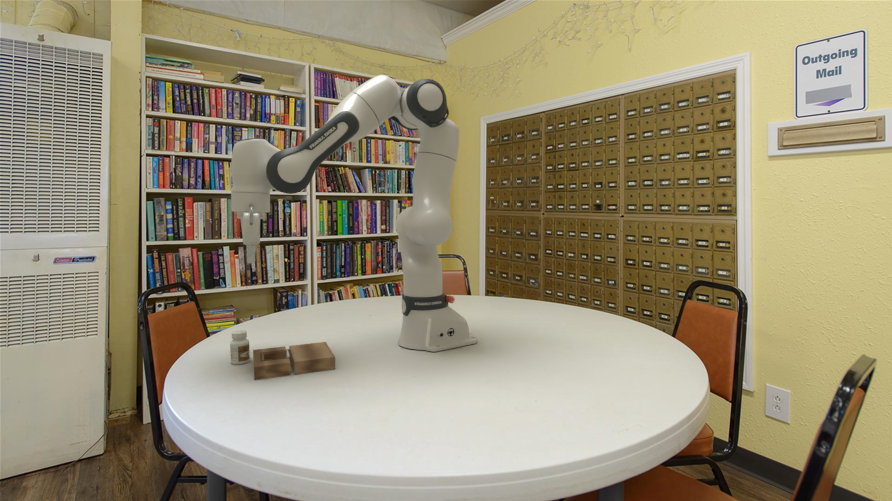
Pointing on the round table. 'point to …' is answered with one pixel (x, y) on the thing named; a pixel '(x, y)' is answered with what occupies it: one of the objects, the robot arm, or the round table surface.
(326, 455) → the round table surface
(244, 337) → the pill bottle
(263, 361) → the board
